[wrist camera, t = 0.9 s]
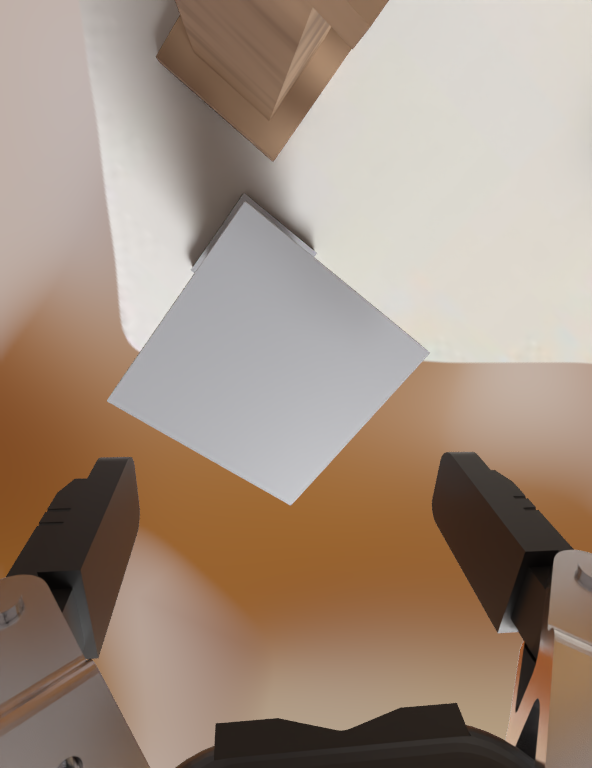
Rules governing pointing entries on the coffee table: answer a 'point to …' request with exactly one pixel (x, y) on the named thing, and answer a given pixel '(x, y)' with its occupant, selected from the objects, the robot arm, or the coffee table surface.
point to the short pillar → (266, 358)
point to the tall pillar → (263, 58)
